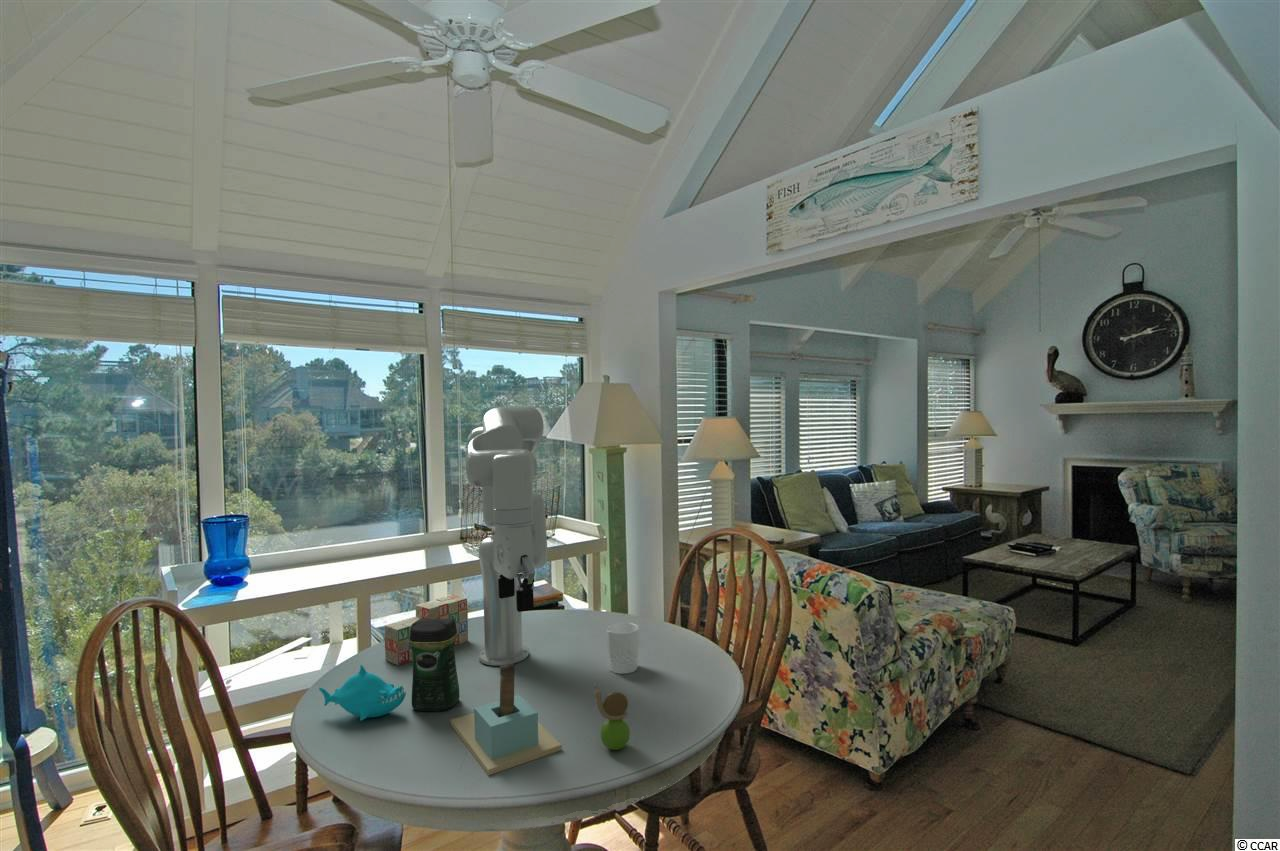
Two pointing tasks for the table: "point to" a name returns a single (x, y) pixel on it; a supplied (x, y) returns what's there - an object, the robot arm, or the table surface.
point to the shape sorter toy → (505, 736)
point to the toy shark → (366, 695)
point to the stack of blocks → (435, 609)
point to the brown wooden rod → (507, 689)
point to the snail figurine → (613, 719)
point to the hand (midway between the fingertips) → (515, 603)
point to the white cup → (623, 647)
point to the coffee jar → (434, 664)
